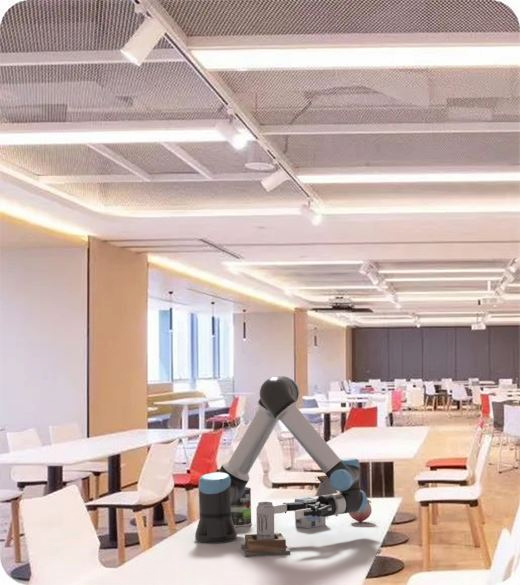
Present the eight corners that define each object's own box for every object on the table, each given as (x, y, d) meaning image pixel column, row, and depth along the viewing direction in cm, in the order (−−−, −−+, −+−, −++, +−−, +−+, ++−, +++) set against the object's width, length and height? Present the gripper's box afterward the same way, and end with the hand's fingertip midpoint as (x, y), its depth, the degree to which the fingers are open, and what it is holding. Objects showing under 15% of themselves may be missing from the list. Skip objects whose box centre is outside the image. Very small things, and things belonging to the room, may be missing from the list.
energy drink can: (254, 548, 337) (253, 503, 338) (260, 545, 342) (260, 501, 343) (270, 549, 334) (270, 504, 335) (276, 546, 340) (276, 502, 341)
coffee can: (257, 523, 391) (256, 487, 392) (240, 528, 383) (239, 491, 384) (236, 521, 398) (235, 486, 398) (220, 525, 389) (219, 489, 390)
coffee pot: (317, 504, 436) (316, 469, 436) (343, 504, 432) (342, 469, 433) (305, 512, 415) (303, 476, 416) (331, 512, 412) (330, 476, 413)
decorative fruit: (372, 520, 392) (371, 494, 392) (372, 524, 384) (371, 497, 384) (348, 520, 393) (347, 495, 393) (348, 524, 384) (347, 498, 385)
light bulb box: (306, 528, 378) (305, 500, 378) (294, 526, 383) (293, 498, 383) (326, 524, 385) (325, 496, 385) (314, 522, 390) (313, 495, 390)
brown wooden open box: (241, 547, 345) (240, 534, 345) (283, 545, 347) (283, 532, 347) (245, 556, 330) (245, 542, 330) (290, 554, 332) (289, 540, 332)
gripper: (353, 519, 346) (306, 527, 333) (308, 511, 366) (262, 518, 353) (353, 498, 346) (305, 505, 334) (308, 491, 366) (261, 497, 354)
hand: (283, 512), depth 344 cm, fingers open, 13 cm apart
